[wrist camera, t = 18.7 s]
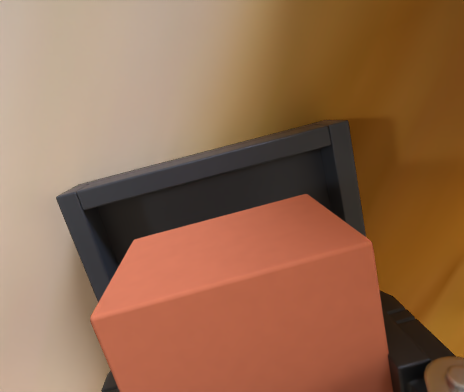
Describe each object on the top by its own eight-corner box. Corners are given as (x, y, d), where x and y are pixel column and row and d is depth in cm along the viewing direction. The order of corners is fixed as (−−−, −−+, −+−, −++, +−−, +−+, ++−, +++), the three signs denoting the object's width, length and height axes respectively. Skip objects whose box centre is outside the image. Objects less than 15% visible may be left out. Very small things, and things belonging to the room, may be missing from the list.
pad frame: (191, 483, 19) (190, 531, 17) (77, 184, 14) (54, 197, 12) (378, 428, 19) (402, 468, 17) (326, 119, 15) (348, 119, 12)
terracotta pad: (199, 426, 12) (197, 580, 8) (132, 238, 10) (86, 318, 6) (344, 385, 12) (414, 516, 8) (307, 192, 10) (373, 240, 6)
